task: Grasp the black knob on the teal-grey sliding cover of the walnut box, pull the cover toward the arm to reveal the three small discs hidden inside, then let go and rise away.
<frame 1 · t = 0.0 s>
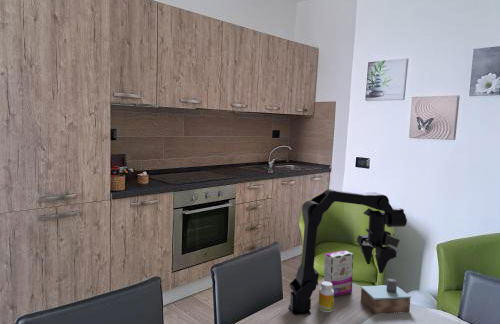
hand: (374, 268, 130), 15 cm above the table, tool pointing down, fingers open, 9 cm apart
supplement bottle: (325, 309, 128), on the table
sliding cover: (385, 286, 131), point 8 cm above the table, slide at 0.0 cm
candy bar box: (337, 293, 142), on the table
walnut box: (384, 306, 132), on the table
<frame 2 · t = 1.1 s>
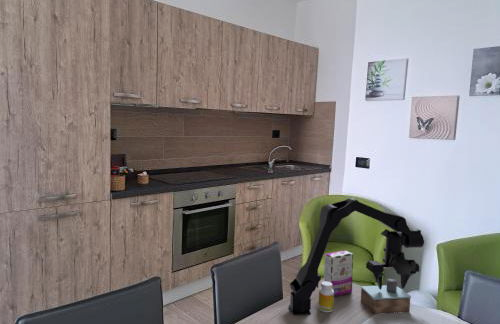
hand: (391, 288, 132), 7 cm above the table, tool pointing down, fingers open, 9 cm apart
nothing on the table moved.
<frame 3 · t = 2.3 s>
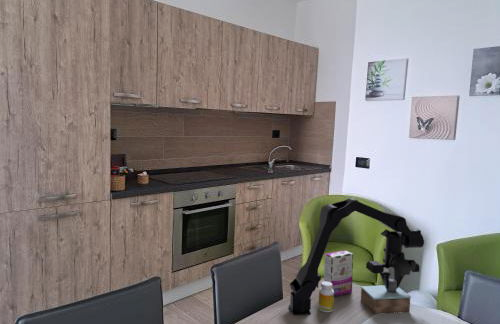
hand: (391, 288, 132), 7 cm above the table, tool pointing down, fingers closed on sliding cover, 3 cm apart
sliding cover: (385, 286, 131), point 8 cm above the table, slide at 0.0 cm, touching gripper
everything else where it was.
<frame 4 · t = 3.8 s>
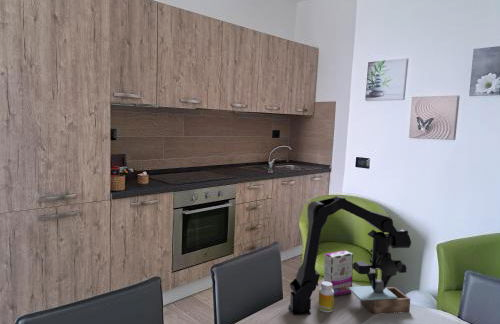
hand: (378, 289, 131), 7 cm above the table, tool pointing down, fingers closed on sliding cover, 3 cm apart
sliding cover: (372, 287, 130), point 8 cm above the table, slide at 5.3 cm, touching gripper
everything else where it was.
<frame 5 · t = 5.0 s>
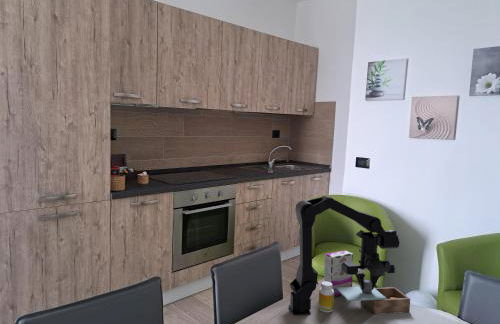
hand: (366, 289, 130), 7 cm above the table, tool pointing down, fingers closed on sliding cover, 3 cm apart
sliding cover: (360, 287, 129), point 8 cm above the table, slide at 9.9 cm, touching gripper
everything else where it was.
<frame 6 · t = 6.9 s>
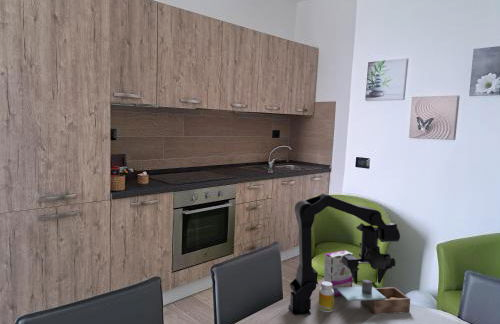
hand: (367, 283, 130), 9 cm above the table, tool pointing down, fingers open, 9 cm apart
sliding cover: (360, 287, 129), point 8 cm above the table, slide at 10.0 cm
everything else where it was.
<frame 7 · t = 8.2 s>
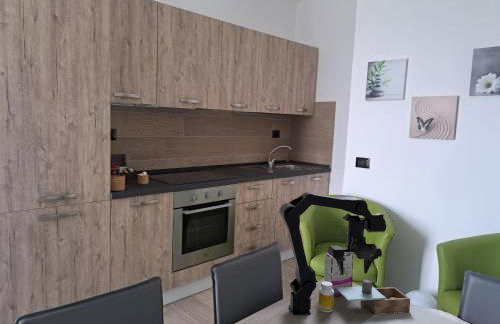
hand: (353, 274, 129), 13 cm above the table, tool pointing down, fingers open, 9 cm apart
nothing on the table moved.
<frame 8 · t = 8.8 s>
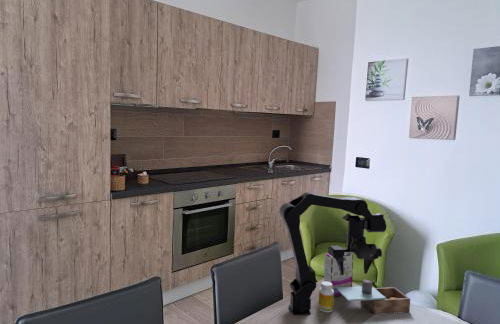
hand: (353, 274, 129), 13 cm above the table, tool pointing down, fingers open, 9 cm apart
nothing on the table moved.
at the end: sliding cover slide at 10.0 cm; the gripper is holding nothing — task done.
